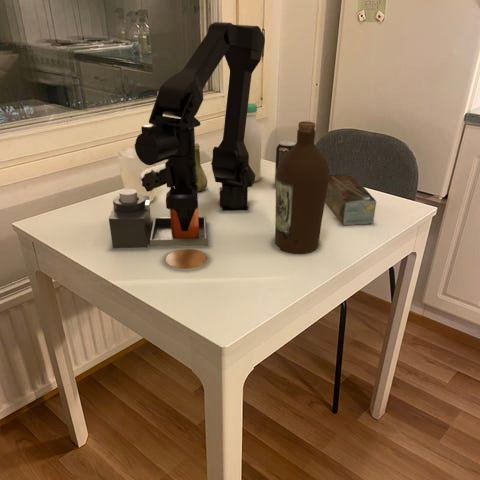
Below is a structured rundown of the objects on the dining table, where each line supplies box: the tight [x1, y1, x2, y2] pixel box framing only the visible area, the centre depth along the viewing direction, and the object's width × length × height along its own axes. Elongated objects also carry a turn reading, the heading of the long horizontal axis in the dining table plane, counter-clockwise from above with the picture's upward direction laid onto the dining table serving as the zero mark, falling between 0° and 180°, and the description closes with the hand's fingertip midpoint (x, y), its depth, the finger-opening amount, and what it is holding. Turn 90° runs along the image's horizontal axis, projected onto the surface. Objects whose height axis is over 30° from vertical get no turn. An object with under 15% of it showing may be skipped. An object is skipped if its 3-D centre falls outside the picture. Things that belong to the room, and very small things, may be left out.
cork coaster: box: [165, 248, 209, 270], centre depth 98 cm, size 8×8×1 cm
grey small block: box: [145, 200, 151, 212], centre depth 104 cm, size 1×3×2 cm, turn 4°
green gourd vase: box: [195, 142, 208, 192], centre depth 129 cm, size 6×5×12 cm
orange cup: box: [169, 207, 199, 239], centre depth 106 cm, size 6×6×7 cm
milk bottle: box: [244, 102, 262, 182], centre depth 135 cm, size 8×8×20 cm
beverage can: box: [274, 139, 297, 186], centre depth 132 cm, size 6×6×12 cm
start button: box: [118, 188, 138, 203], centre depth 102 cm, size 4×4×2 cm
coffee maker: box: [108, 195, 152, 249], centre depth 105 cm, size 7×13×8 cm, turn 4°
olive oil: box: [274, 120, 330, 255], centre depth 98 cm, size 11×11×25 cm
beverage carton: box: [325, 173, 377, 226], centre depth 120 cm, size 8×19×7 cm, turn 7°
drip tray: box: [149, 216, 208, 248], centre depth 107 cm, size 12×12×2 cm
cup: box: [117, 147, 156, 203], centre depth 122 cm, size 9×9×12 cm
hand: (184, 224), depth 107 cm, fingers closed on orange cup, 6 cm apart
